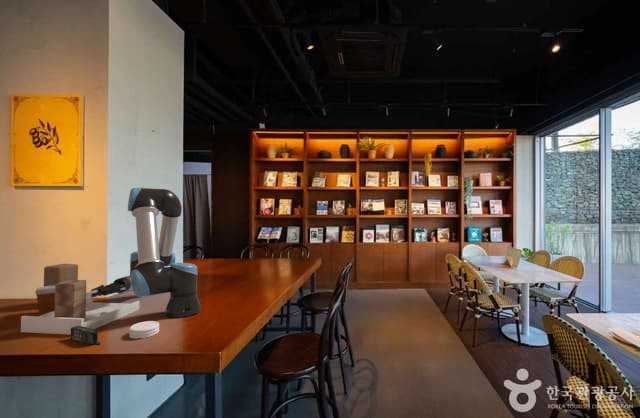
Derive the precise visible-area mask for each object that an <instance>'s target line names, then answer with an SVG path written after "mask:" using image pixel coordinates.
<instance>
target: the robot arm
mask: <svg viewBox="0 0 640 418" xmlns="http://www.w3.org/2000/svg"><path fill="white" fill-rule="evenodd" d="M128 197H129V198H128V203H127V211H128V212H131V215H132V217H134V218H135V225H136V226H135V228H136V242H137V243H136V244H137V251H132V252H131V254H130V257H129V258H130V260H129V262H130V263H129V264H130V265H129V268H130V269H129V275H126V276H123V277H119V278H116V279H115V280H114V281H113V282H112V283H109V284H106V285H104V284H101V285H100V286H97V287H94V288H92V289H90V291H88V292H87V291H86V301H87V300H90V299H93V298H96V297H98V296H99V297H101V296H105V297H106V296H108V295H113V294H123V293H126V292H130V291H133V294H134V295H135V296H136V297H140V298H141V297H150V296H155V295H162V294H167V293H169V299H168V302H167V305H166V308H165V314H164V315H165V316H166V317H167V318H173V317H174V318H175V317H179V318H185V317H184V316H187V317H190V316H189V315H191V316H193V315H192V314H195V313H197V312H199V311H200V310H201V309H202V308H201V307H202V306H201V302H200V300H199V297H198V275H199V274H198V266H197V265H196V264H194V263H187V262H176V259H177V258H176V254H175V253H174V252H173V250H174V244H175V240H176V239H175V238H176V233H177V227H178V221H179V218H180V217H181V216H182V209H183V208H182V204H181V200H180V198H179V197H178V196H177V195H176V193H174V192H173V191H172V190H169V189H167V188H152V187H151V188H150V187H148V188H146V187H133V188H131V189H130V192H129V196H128ZM160 212H161V215H162V219H161V226H160V233H159V235H158V223H157V216H158V215H160ZM200 312H201V311H200ZM200 312H199V313H200ZM197 314H198V313H197ZM195 315H196V314H195ZM174 318H173V319H174ZM175 319H176V318H175Z"/></svg>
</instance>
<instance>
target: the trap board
mask: <svg viewBox="0 0 640 418" xmlns="http://www.w3.org/2000/svg"><path fill="white" fill-rule="evenodd" d="M140 308H141V307H140V300H136V301H134V302H131V303H122V302H121V303H119V302H118V303H117V302H94V299H93V298H91V299H87V300H86V318H85V319H84V318H62V317H54V313H55V311H53V312H50V313H47V314H44V315H38V316H37V315H36V316H35V315H34V316H33V315H22V316H20V333H33V334H34V333H35V334H49V335H50V334H51V335H52V334H53V335H70V336H71V328H72V327H75V326H82V327H86V328H91V329H93V330H96V329H98V328H100V327H102V326H105V325H107V324H109V323H112V322H113V321H116V320H119V319H121V318H122V317H125V316H127V315H129V314H132V313H134V312H136V311H138V310H140Z"/></svg>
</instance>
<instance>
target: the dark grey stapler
mask: <svg viewBox="0 0 640 418" xmlns="http://www.w3.org/2000/svg"><path fill="white" fill-rule="evenodd" d="M98 336H99V334H98V331H97V330H96V329H94V330H93V329H91V328H86V327H82V326H75V327H72V328H71V335H70V340H72V341H76V342H79V343H82V344H84V345H94V344H97V345H101V344H102V342H100V341H98V340H99V337H98Z"/></svg>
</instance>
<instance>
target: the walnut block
mask: <svg viewBox="0 0 640 418" xmlns="http://www.w3.org/2000/svg"><path fill="white" fill-rule="evenodd" d="M86 293H87V279H78V280H68V281H65V282H61V283H58V284H55V313H54V317H62V318H84V319H85V318H86V301H87V300H86Z"/></svg>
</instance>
